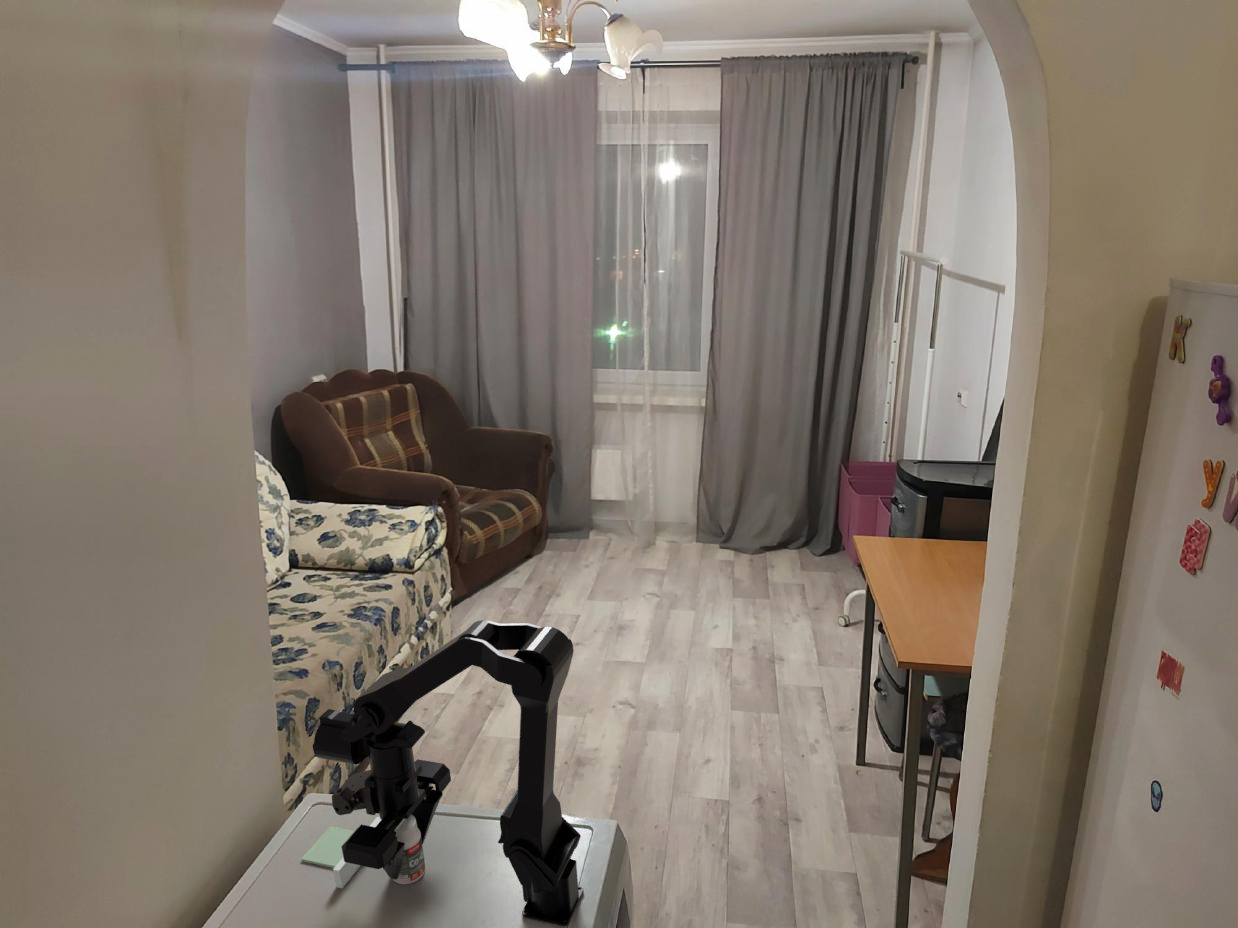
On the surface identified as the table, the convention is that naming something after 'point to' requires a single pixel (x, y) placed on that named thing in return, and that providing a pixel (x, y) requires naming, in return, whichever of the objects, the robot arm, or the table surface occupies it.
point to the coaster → (328, 848)
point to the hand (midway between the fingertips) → (407, 860)
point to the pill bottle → (410, 852)
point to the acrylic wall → (347, 866)
